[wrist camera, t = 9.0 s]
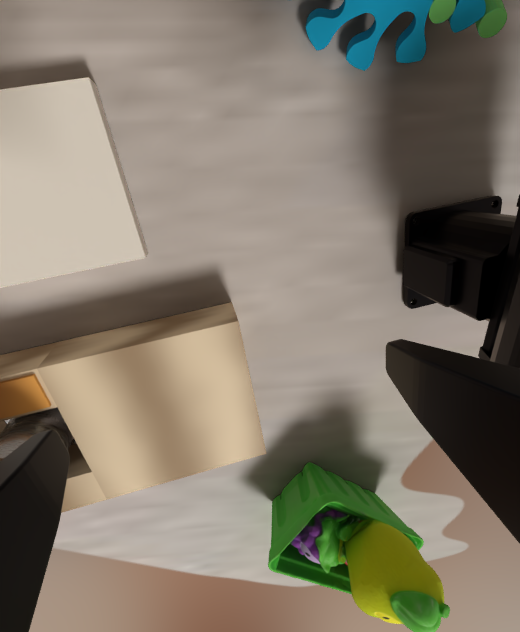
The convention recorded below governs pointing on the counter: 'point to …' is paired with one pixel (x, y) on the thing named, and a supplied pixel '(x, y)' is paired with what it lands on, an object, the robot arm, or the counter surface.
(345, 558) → the fruit basket
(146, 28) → the counter surface
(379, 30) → the blue spiky lump
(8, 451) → the peg
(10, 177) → the tab
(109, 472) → the rail plate
